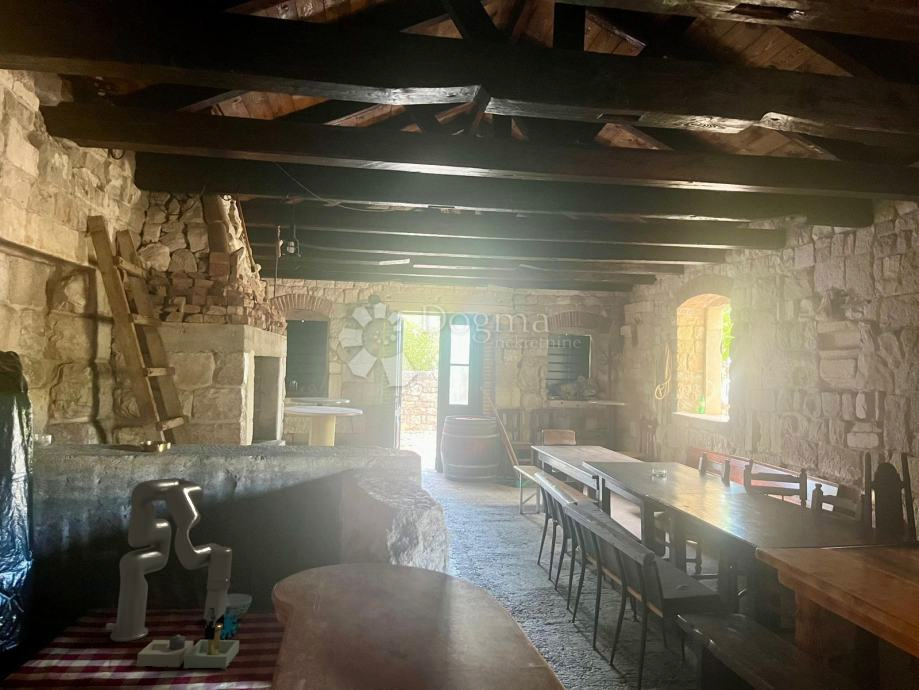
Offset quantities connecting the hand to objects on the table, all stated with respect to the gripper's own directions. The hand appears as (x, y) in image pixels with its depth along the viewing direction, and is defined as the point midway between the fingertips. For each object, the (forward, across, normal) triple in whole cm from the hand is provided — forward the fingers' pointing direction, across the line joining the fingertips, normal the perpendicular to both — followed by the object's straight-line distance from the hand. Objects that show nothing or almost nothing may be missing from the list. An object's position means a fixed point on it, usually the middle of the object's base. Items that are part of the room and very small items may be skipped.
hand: (214, 633), depth 204 cm
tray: (+9, 0, 0) cm, 9 cm away
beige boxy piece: (+9, 0, -16) cm, 18 cm away
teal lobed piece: (+9, -21, -2) cm, 23 cm away
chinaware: (+9, -40, -6) cm, 41 cm away
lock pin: (+8, 0, 0) cm, 8 cm away
